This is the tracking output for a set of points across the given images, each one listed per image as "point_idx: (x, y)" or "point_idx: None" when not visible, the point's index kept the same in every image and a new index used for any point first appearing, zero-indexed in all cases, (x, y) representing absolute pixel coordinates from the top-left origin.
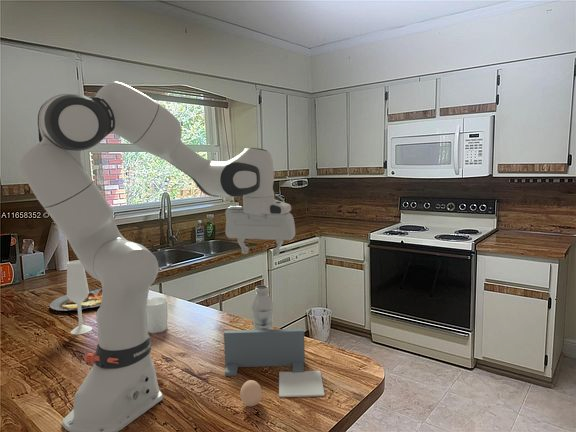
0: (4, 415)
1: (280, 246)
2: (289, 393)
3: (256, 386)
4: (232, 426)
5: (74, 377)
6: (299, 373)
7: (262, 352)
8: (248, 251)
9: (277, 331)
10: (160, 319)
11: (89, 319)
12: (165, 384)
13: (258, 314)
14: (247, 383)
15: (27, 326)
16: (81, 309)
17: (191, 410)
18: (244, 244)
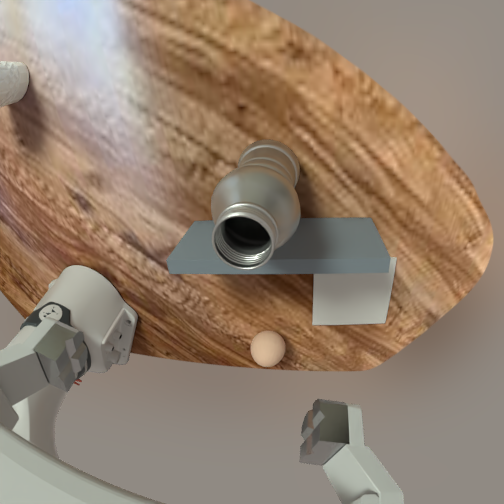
0: (22, 315)
1: (373, 465)
2: (330, 320)
3: (276, 363)
4: (251, 366)
5: (14, 255)
6: None
7: None
8: (76, 335)
9: (314, 272)
10: (5, 98)
11: None
12: (120, 280)
13: (248, 234)
14: (261, 364)
15: None
16: None
17: (187, 338)
18: (18, 364)
